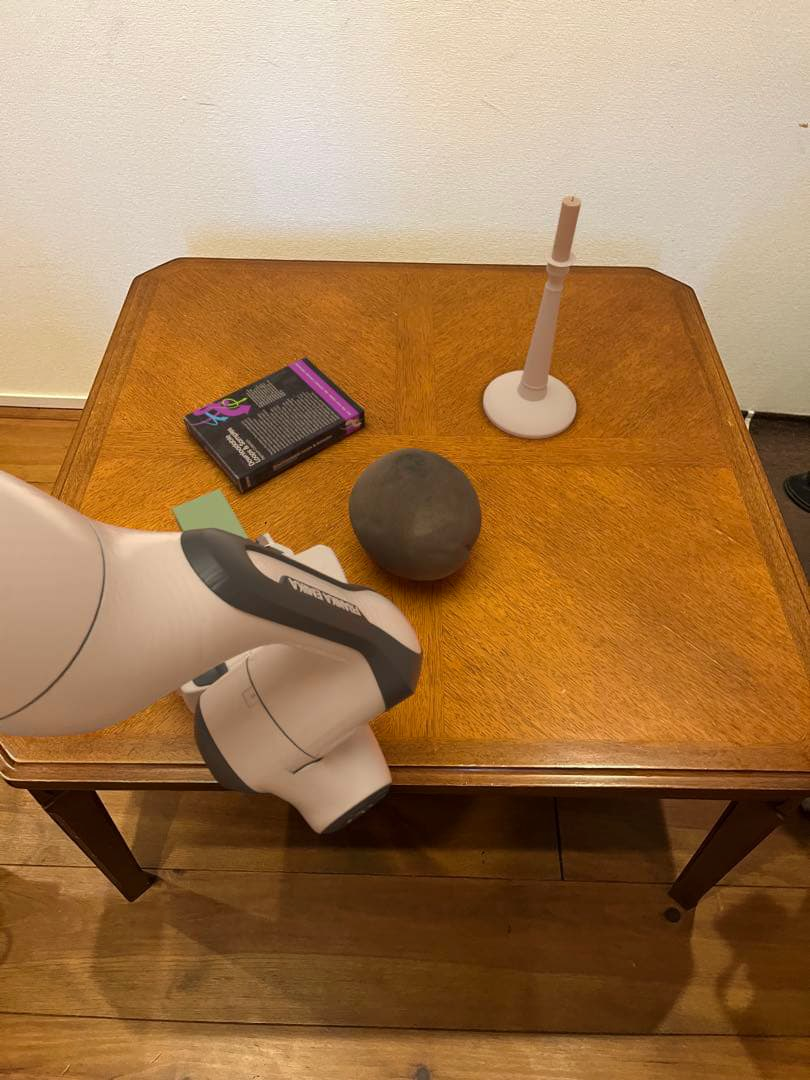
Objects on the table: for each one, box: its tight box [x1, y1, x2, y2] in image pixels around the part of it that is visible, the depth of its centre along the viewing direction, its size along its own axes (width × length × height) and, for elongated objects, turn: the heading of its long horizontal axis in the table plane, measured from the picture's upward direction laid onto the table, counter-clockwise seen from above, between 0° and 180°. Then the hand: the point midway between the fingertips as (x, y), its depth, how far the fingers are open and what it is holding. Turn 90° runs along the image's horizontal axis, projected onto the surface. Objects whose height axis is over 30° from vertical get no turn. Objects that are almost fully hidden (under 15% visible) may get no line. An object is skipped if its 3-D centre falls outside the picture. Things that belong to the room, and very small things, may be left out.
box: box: [182, 356, 366, 494], centre depth 97 cm, size 14×4×20 cm
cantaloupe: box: [348, 447, 483, 581], centre depth 81 cm, size 14×14×15 cm
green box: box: [171, 488, 250, 540], centre depth 76 cm, size 5×7×14 cm
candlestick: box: [482, 195, 582, 440], centre depth 90 cm, size 13×13×30 cm
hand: (219, 557), depth 75 cm, fingers open, 8 cm apart
